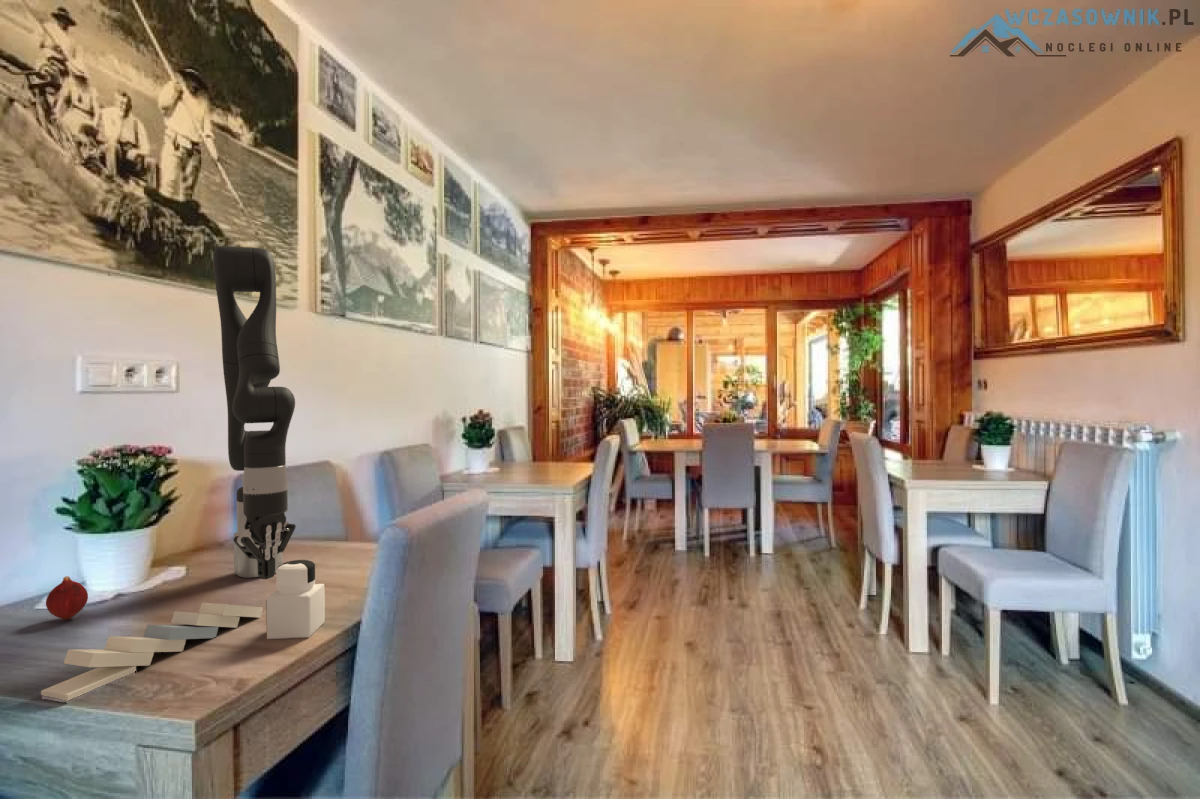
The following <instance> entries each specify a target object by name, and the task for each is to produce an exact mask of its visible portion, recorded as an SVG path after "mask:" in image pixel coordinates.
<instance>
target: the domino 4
mask: <svg viewBox="0 0 1200 799" xmlns="http://www.w3.org/2000/svg"><path fill="white" fill-rule="evenodd" d="M218 630H219V627H217V626H199V625H187V624H147V625H146V628H145V630H144V634H143V637H149V638H158V639H167V640H174V639H186V640H197V639H198V640H200V639H215V638H214V637H216V638H217V634H218Z"/></svg>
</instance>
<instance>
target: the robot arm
mask: <svg viewBox="0 0 1200 799" xmlns="http://www.w3.org/2000/svg"><path fill="white" fill-rule="evenodd" d="M212 269H213V277H214V282H215V283H214V284H215V289H216V290H215V291H216V298H217V303H218V312H219V317H220V318H219V319H220V330H221V332H220V333H221V353H222V355H221V356H222V357H221V358H222V369H223V370H222V371H223V378H224V380H223V381H224V387H225V394H226V404H227V451H228V454H227V455H228V460H229V464H230V467H231V469H232V470H234V471H239V472H241V471H242V472H243V476H242V486H241V487H239V488H237V490H236V532H234V533H233V574H234V575H237V576H238V577H241V578H259V579H261V580H269V579H272V578H274V576H275V574H276V569H277V567H278V566H280V565H281V564H283V563H284V560H283V559H284V557H283V552H284V551H285V550H286V547H287V545H288V543H289V541H290V539H291V538H292V535H293V534H294V532H295V530H296V524H294V523H290V522H288V521H287V516H286V514H285V513H286V512H287V511H288V473H287V466H286V463H287V462H286V460H287V459H286V443H287V436H288V431H289V428H290V424H291V421H292V418H293V414H294V413H295V407H296V399H295V398H296V397H295V396H294V394H293V392H292V390H290V389H289V388H288V387H285V386H269V385H270V384H271V381H272V380H274V379H275V378H277V377H278V376H279V375H280V371H281V366H280V359H279V357H280V356H279V351H278V344H277V333H276V330H277V329H276V328H277V324H276V323H277V278H276V276H277V274H276V265H275V261H274V257H273V255H272V253H271V252H270V251H269V249H266V248H260V247H245V246H232V245H231V246H228V245H227V246H226V245H225V246H224V245H222V246H220V245H219V246H217V247H216V248H215V249H214V252H213V256H212ZM236 292H238V293H239V292H240V293H241V292H242V293H245V292H246V293H259V297H258V301H257V304H256V306H255V308H254V309H253V311H252V312H251V314H250V315H249V317H248V318H246V316H245V315H244V313H243V312H242V310H241V308H240V307H239V305H238V302H237V300H236V298H235V295H234V294H235V293H236ZM265 423H267V424H268V423H273V424H272V426H271V427H270V429H268V430H245V424H265Z"/></svg>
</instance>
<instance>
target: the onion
mask: <svg viewBox="0 0 1200 799" xmlns="http://www.w3.org/2000/svg"><path fill="white" fill-rule="evenodd" d="M45 599H46V600H45V606H46V609H47V611H48V613H50V614H51V615H52V616H54V617H57V618H59V619H61V620H64V621H68V620H70V619H72V618H73V617H74V616H76V615H77V614H78V613H79V612H80V611H81V610H83V608H84V607H85V606H86V604H87V603H88V599H89V593H88V590H87V589H86V588H85V586H84V585H83V584H81V583H79V582H77V581H74V580H72V579H71V577H70V576H67V575H66V576H64V577H63V579H62V581H61V582H60V583H59V584H57V585H56V586H54V588H52V589H51V591H50V592H49V593H48V595H47V597H46V598H45Z"/></svg>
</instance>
